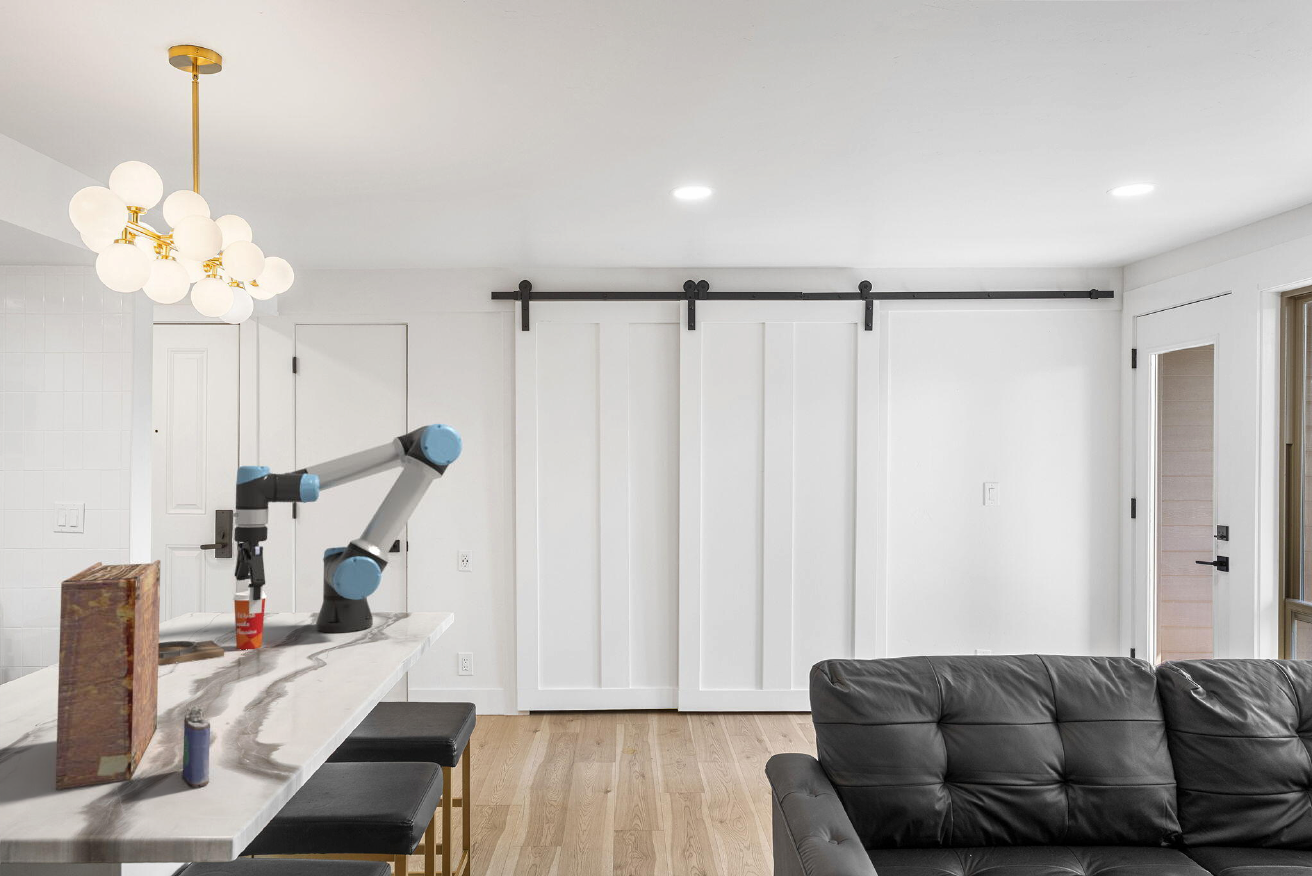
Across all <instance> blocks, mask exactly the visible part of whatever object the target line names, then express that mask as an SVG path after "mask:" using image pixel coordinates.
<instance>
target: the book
mask: <svg viewBox="0 0 1312 876" xmlns="http://www.w3.org/2000/svg"><path fill="white" fill-rule="evenodd" d="M60 586H61V588H60V590H61V591H60V616H59V617H60V618H59V619H60V621H59V622H60V623H59V625H60V626H59V649H58V650H59V651H58V652H59V653H58V655H59V657H58V685H57V686H58V690H57V691H58V692H57V693H58V694H57V698H58V699H57V725H56V728H57V729H56V755H55V757H56V759H55V760H56V761H55V791H58V790H64V789H66V790H67V789H72V788H80V787H86V786H92V785H98V784H99V785H102V784H107V783H114V782H121V781H127V780H131V779H132V778H133V776H134V774H135V772H136V771H137V768H138V766H139V764H140V762H141V760H142V758H143V756H144V754H145V753H146V751H147V748H148V746H149V744H150V742H151V740H152V739H153V737H154V734H155V733H156V731H157V727H158V689H159V688H158V687H159V685H158V683H159V681H158V680H159V666H158V650H159V643H160V633H159V632H160V601H161V600H160V597H161V559H157V560H155V561H154V562H153V563H151V562H149V563H133V564H132V563H131V564H130V563H129V564H111V565H110V564H109V565H107V564H105V565H103V562H102V561H99V562H96V563H95V564H93V565H90V567H88V568H85V569H83V570H82V571H80V572H78V573H76V574H75V575H73V576H70V577H69V578H67V579H65V580H63V581H61V585H60Z"/></svg>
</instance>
